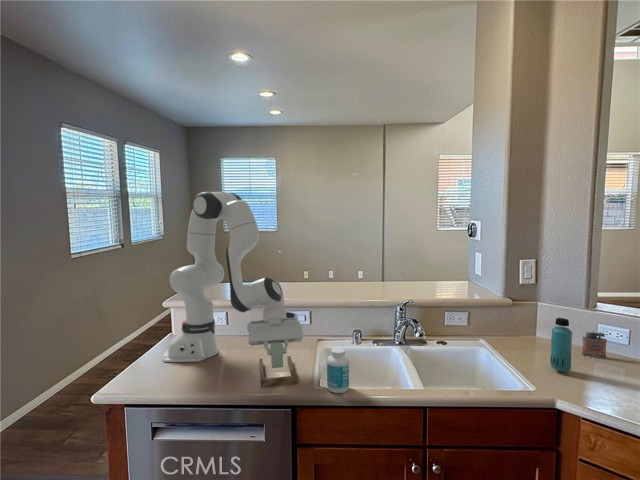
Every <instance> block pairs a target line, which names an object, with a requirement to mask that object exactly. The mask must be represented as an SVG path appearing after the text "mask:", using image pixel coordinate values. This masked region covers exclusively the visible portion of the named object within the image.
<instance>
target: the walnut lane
mask: <svg viewBox="0 0 640 480" xmlns="http://www.w3.org/2000/svg"><path fill="white" fill-rule="evenodd" d="M258 360H259V378H260V388H269V387H279V386H289V385H297V384H298V383H297V382H298V379H297V378H298V377H297V374H296V371H295V367H294V364H293V363H294V362H293V359H292V356H291V355H287V366H288V369H289V372H290V373H289V374H290V375H287V376H278V377H270V378H269V377H268V378H265V372H264V361H263V358H259V359H258Z"/></svg>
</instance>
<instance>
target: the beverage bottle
mask: <svg viewBox="0 0 640 480" xmlns="http://www.w3.org/2000/svg"><path fill="white" fill-rule="evenodd" d="M555 325H556V326H554V327H552V329H551V337H550V338H551V339H550V342H551V344H550V346H551V348H550V363H549V364H550V367H551V368H552V369H554V370H556V371H558V372H559V371H560V372H570V371H571V369H572V343H573V342H572V341H573V331H572V330H571V329H570V328H568V327H569V326H570V321H569V319H567V318H564V317H556V318H555Z"/></svg>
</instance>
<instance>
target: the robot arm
mask: <svg viewBox="0 0 640 480" xmlns="http://www.w3.org/2000/svg"><path fill="white" fill-rule="evenodd" d="M242 199H243V198H242V197H240V196H239V195H237V194H236V193H234V192H225V191H203V192H199V193H197V194H196V195H195V196H194V198H193V200H192V210H191V213H190V216H189V220H188V226H187V227H188V228H187V238H186V239H187V241H186V250H187V252H188V253H189V254H191V255H192V256H193V257H194V264H189V265H184V266H181V267H179V268H176V269H174V270H172V272H171V274H170V276H169V285H170V287H171V289H172V290H174V292H176V293H178V295H180V297H181V298H182V300H183V303H184V307H185V319H186V320H183V321H182V323H181V332H180V333H178V334H177V335H176V336H175V337H173V338H172V339H171V341H170V342H169V344H168V349H167V350H166V351H165V352H164V353H163V355H162V361H163V363H187V362H188V363H189V362H190V363H193V362H194V363H195V362H199V363H200V362H202V361H203V360H205V359H208V358H209V359H210V358H211V357H213V356H216V355H217V354H218V353H219V351H220V350H219V348H218V345H217V340H216V336H215V335H216V334H215V333H216V322H215V319H214V304H213V301H212V300H211V299H209V298H208V297H206V295H205V293H204V289H207V288H211V287H214V286H217V285H218V284H220V283H221V282H222V281H223V280H224V279H225V271H224V267H223V266H222V264H220V263H219V261H218V259H217V256H216V251H215V250H216V249H215V246H216V233H217V232H216V230H217V229H216V227H217V223H218V221H219V220H224V221H225V223H226V227H227V230H228V232H229V234H228V235H229V245H228V247H227V248H226V251H225V255H226V257H225V258H226V265H227V274H228V280H229V288H230V289H229V291H230V292H229V293H230V295H229V296H230V297H229V299H230V304H231V306H232V308H233V309H235V310H236V311H238V312H240V313H247V312H248V311H251V310H252V309H255V308H258V307H261V306H262V307H263V309H262V320H261V319H259V320H252V321H250V322H248V324H247V326H246V328H247V329H246V330H247V332H248V345H250V346H259V345H263V347H264V350H265V351H266V355H267V356H271V348H269V347H268V345H271V343H272V342H282V344H284V346H283V355H284V354H285V355H286V354H287V353H288V352H287V351H288V350H287V349H288V347H289V343H297V342H298V343H299V342H301V341H302V340H303V337H304V332H303V327H302V325H301V322H300V321H299V320H298V314H297V313H296V312H291V311H287V310H286V309H285V306H284V305H285V297H284V291H283V287H282V285H281V283H280V282H279V281H278V280H274V279H273V278H271V277H262V278H259V279H256V280H254V281H252V282H249V283H246V284H244V282H243V281H244V280H243V275H242V269H241V268H242V267H241V263H242V260H243V259H244V258H245V256H246V255H247V254H248V253H249V252H251V251H252V250H253V249H254V248H255V247H256V245H257V244H258V242H259V240H260V231H259V227H258V223H257V221H256V219H255V216H254V213H253V210H252V209H251V207H250V205H249V204H248V202H246V201H245V200H242Z"/></svg>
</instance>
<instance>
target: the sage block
mask: <svg viewBox="0 0 640 480" xmlns="http://www.w3.org/2000/svg"><path fill="white" fill-rule="evenodd" d="M283 348H284V345H283V343H282V342H272V343H271V344H270V349H271V355H270V359H271V361H270V362H271V369H277V368H279V369H280V368H284V354H283Z"/></svg>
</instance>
